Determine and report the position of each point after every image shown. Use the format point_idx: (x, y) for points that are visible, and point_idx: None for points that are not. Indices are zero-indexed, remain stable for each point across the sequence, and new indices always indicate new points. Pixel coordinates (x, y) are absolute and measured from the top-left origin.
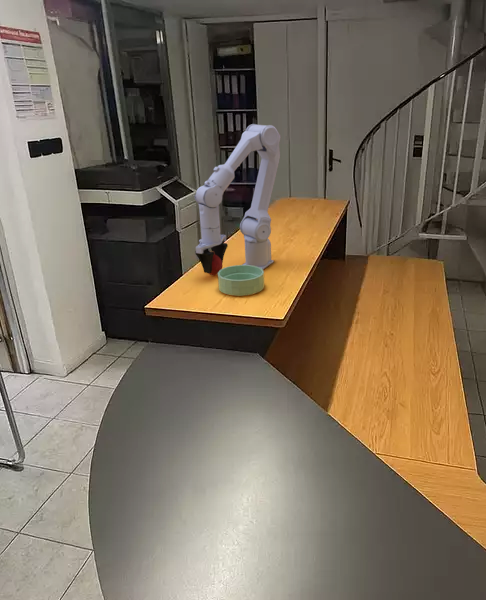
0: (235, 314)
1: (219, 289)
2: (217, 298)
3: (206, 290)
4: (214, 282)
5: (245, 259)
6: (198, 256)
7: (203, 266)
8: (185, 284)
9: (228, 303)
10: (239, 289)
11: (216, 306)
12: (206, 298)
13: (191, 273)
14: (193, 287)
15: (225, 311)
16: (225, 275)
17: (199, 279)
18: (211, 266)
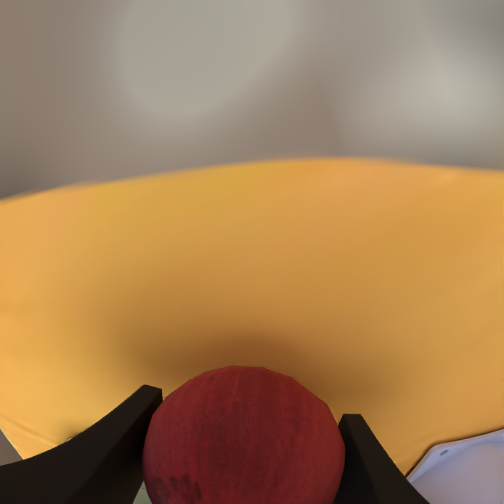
0: (18, 452)
1: (67, 440)
2: (34, 424)
3: (49, 386)
4: None
5: (458, 479)
6: (5, 475)
7: (111, 422)
8: (40, 246)
9: (37, 448)
10: None
11: (7, 420)
12: (11, 392)
13: (268, 163)
14: (35, 315)
15: (10, 437)
16: (140, 491)
17: (147, 307)
18: (139, 474)
